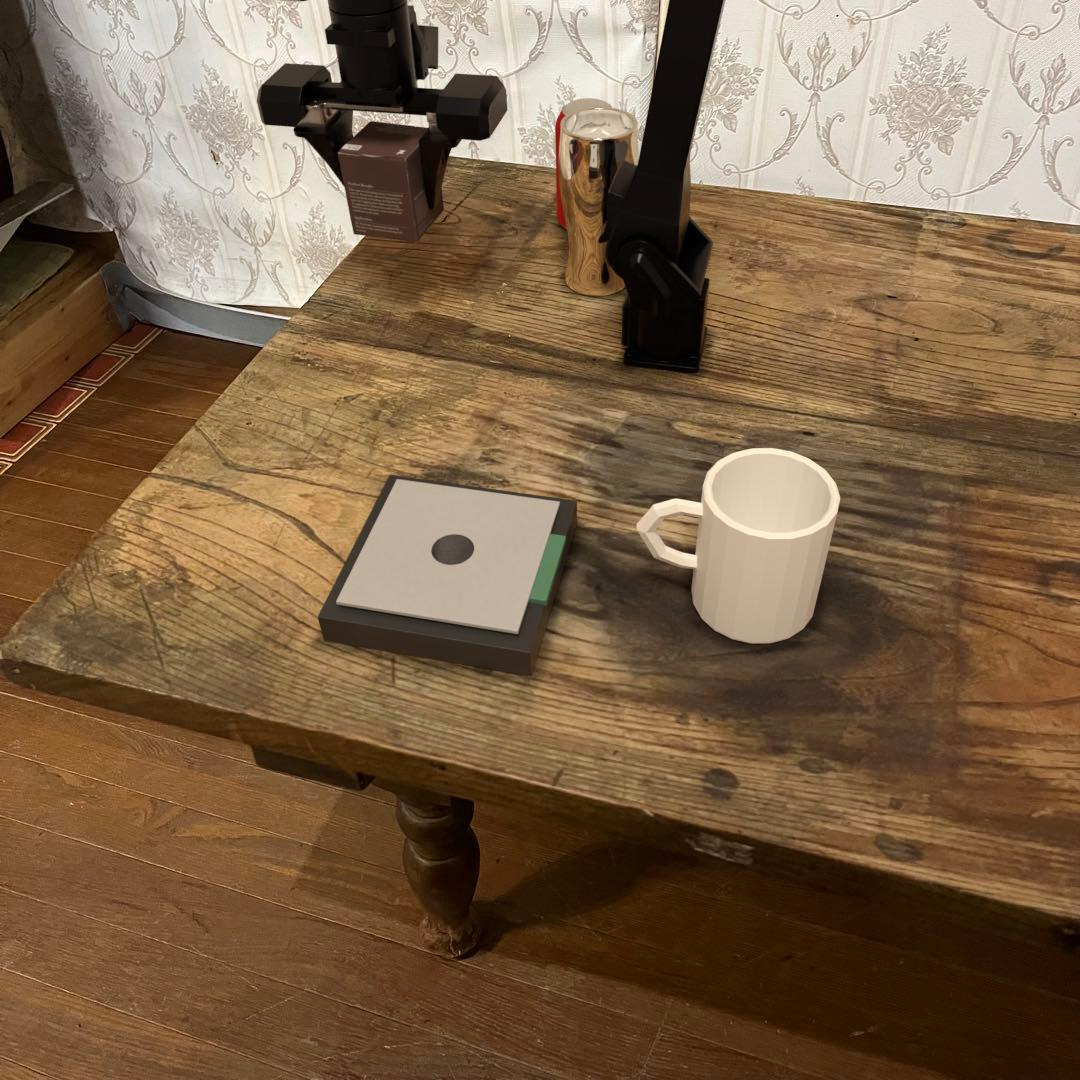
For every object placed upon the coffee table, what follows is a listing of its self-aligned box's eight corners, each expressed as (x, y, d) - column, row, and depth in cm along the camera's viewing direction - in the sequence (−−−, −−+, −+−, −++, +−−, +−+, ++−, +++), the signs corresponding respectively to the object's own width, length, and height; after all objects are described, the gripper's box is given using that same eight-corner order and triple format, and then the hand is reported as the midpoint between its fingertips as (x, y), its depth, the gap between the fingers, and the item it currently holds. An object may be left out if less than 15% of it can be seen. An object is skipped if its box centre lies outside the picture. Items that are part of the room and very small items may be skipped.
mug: (629, 556, 72) (634, 448, 65) (802, 554, 72) (826, 445, 65) (636, 646, 66) (642, 538, 60) (824, 644, 66) (852, 535, 59)
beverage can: (618, 211, 107) (621, 94, 99) (616, 241, 103) (618, 121, 94) (559, 210, 108) (557, 93, 99) (554, 240, 103) (552, 121, 95)
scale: (578, 524, 75) (578, 494, 72) (533, 676, 65) (531, 646, 63) (393, 498, 77) (388, 467, 75) (323, 640, 68) (315, 610, 66)
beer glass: (628, 302, 95) (634, 142, 84) (554, 295, 96) (550, 137, 86) (638, 263, 100) (645, 107, 89) (567, 257, 101) (566, 103, 90)
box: (446, 212, 89) (437, 127, 83) (417, 246, 85) (405, 159, 80) (382, 202, 90) (370, 119, 85) (350, 235, 86) (335, 150, 81)
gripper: (520, -28, 79) (529, 169, 90) (294, -37, 82) (329, 153, 93) (478, 23, 71) (494, 231, 82) (232, 11, 75) (278, 212, 86)
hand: (396, 203), depth 86 cm, fingers closed on box, 6 cm apart
